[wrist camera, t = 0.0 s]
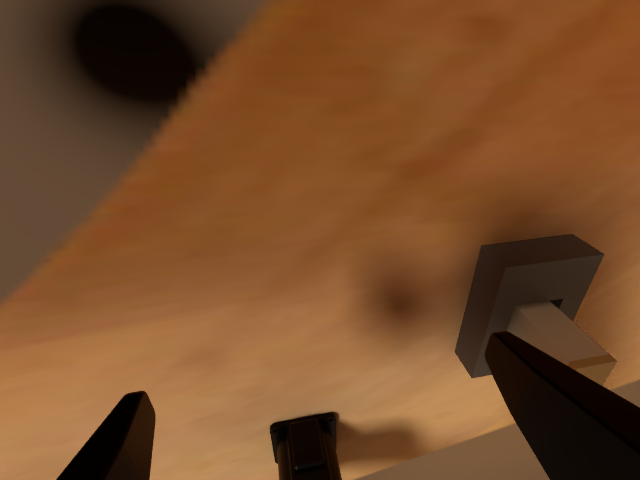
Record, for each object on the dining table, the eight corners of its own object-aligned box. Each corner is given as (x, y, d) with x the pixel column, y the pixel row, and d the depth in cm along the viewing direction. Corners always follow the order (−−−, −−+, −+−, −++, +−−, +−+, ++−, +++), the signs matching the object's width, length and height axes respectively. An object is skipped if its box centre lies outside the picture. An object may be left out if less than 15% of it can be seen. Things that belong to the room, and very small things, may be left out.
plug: (519, 308, 32) (599, 389, 25) (489, 312, 32) (561, 397, 24) (528, 281, 31) (617, 361, 23) (497, 286, 30) (577, 368, 23)
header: (530, 339, 35) (552, 363, 32) (454, 351, 34) (471, 378, 31) (572, 234, 28) (604, 254, 26) (481, 245, 27) (505, 267, 25)
